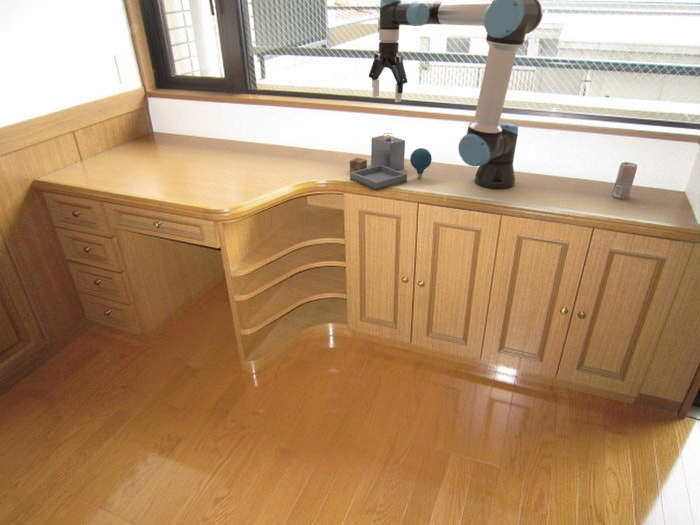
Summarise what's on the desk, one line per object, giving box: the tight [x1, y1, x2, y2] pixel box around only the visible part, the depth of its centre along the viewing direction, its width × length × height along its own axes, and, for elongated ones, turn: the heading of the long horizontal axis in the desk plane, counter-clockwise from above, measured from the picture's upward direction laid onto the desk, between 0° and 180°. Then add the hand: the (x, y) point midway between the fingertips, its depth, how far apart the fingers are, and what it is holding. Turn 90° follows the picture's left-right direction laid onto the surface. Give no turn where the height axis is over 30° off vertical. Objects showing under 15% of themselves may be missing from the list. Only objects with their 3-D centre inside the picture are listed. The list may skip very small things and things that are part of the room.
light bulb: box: [409, 147, 433, 179], centre depth 193 cm, size 8×8×12 cm
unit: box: [370, 132, 406, 171], centre depth 206 cm, size 12×8×14 cm, turn 38°
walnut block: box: [349, 157, 368, 173], centre depth 203 cm, size 5×5×5 cm
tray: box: [349, 165, 408, 191], centre depth 193 cm, size 16×16×3 cm
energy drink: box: [612, 161, 638, 200], centre depth 174 cm, size 5×5×12 cm
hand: (386, 99), depth 197 cm, fingers open, 13 cm apart
